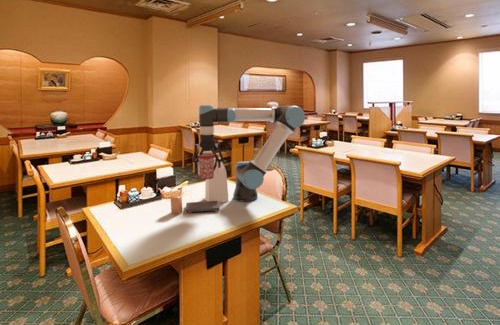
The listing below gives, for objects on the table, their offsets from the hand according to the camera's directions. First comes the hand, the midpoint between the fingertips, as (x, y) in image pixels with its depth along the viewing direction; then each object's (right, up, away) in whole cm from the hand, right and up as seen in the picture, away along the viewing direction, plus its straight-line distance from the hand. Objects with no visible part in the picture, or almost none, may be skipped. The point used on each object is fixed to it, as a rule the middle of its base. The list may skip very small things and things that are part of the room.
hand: (208, 173), depth 180 cm
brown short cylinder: (-17, -21, -2) cm, 27 cm away
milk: (+3, -17, +20) cm, 26 cm away
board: (-4, -20, +3) cm, 21 cm away
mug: (+1, -2, +1) cm, 2 cm away
